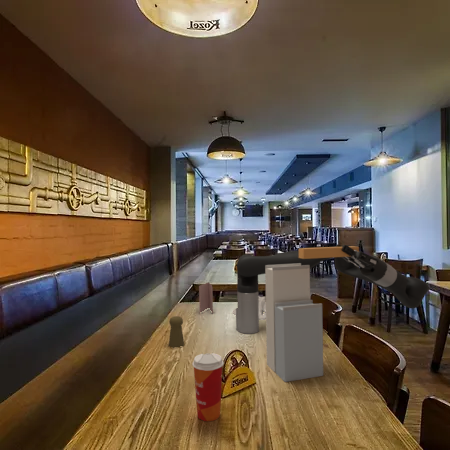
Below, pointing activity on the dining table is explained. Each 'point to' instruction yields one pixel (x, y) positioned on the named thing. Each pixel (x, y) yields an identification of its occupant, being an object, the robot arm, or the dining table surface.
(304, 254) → the bar
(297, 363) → the grey box
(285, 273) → the tall pale grey pillar
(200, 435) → the dining table surface
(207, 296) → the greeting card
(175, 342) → the cork
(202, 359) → the paper cup
